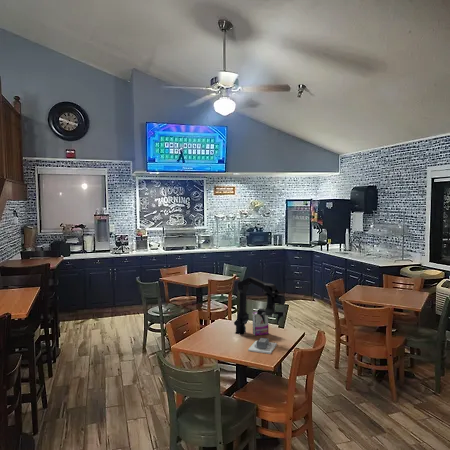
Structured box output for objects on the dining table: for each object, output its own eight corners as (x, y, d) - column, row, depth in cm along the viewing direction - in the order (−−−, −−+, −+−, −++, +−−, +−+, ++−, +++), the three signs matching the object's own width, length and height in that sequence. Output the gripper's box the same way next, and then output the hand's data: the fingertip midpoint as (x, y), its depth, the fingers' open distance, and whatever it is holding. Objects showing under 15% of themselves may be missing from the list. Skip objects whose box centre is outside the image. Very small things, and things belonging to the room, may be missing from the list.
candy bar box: (265, 332, 291) (265, 310, 290) (268, 334, 287) (268, 312, 286) (252, 334, 287) (252, 312, 286) (255, 336, 282) (255, 314, 282)
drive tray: (248, 350, 254) (248, 346, 253) (255, 341, 270) (255, 337, 270) (270, 353, 248) (270, 349, 248) (276, 344, 265) (276, 340, 265)
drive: (256, 348, 256) (256, 342, 255) (260, 343, 265) (260, 337, 265) (265, 349, 254) (265, 343, 253) (269, 344, 263) (269, 338, 263)
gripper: (254, 304, 266) (254, 326, 267) (281, 306, 259) (281, 329, 260) (259, 300, 276) (259, 321, 277) (285, 302, 270) (285, 324, 271)
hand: (270, 324), depth 271 cm, fingers open, 9 cm apart
